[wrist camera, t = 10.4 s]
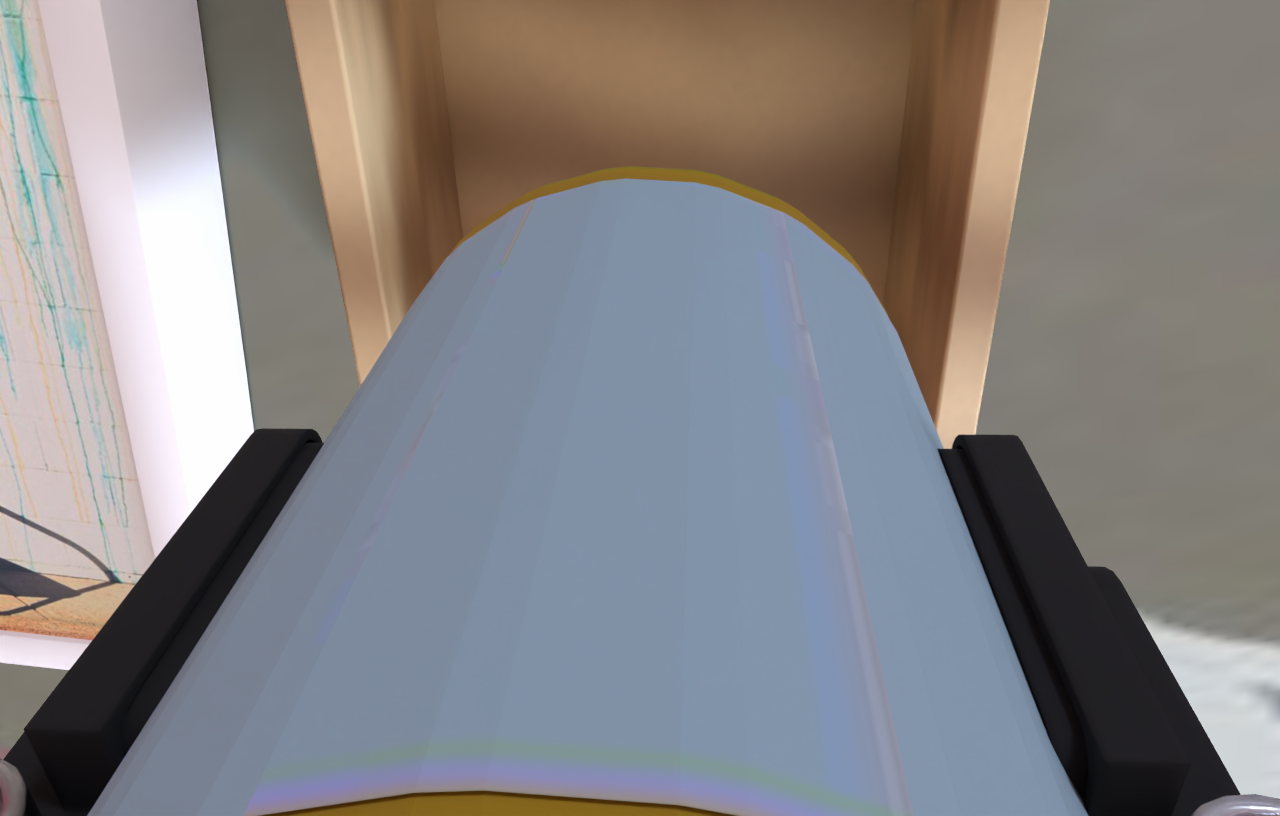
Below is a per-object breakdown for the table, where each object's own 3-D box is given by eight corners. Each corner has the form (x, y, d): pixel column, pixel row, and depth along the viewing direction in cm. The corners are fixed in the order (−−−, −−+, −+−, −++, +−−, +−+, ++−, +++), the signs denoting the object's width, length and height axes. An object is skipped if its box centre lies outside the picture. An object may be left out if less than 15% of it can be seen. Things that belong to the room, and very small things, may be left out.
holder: (390, -113, 20) (263, -97, 14) (965, -130, 19) (1072, -118, 14) (457, 382, 26) (387, 534, 20) (901, 384, 25) (958, 543, 19)
